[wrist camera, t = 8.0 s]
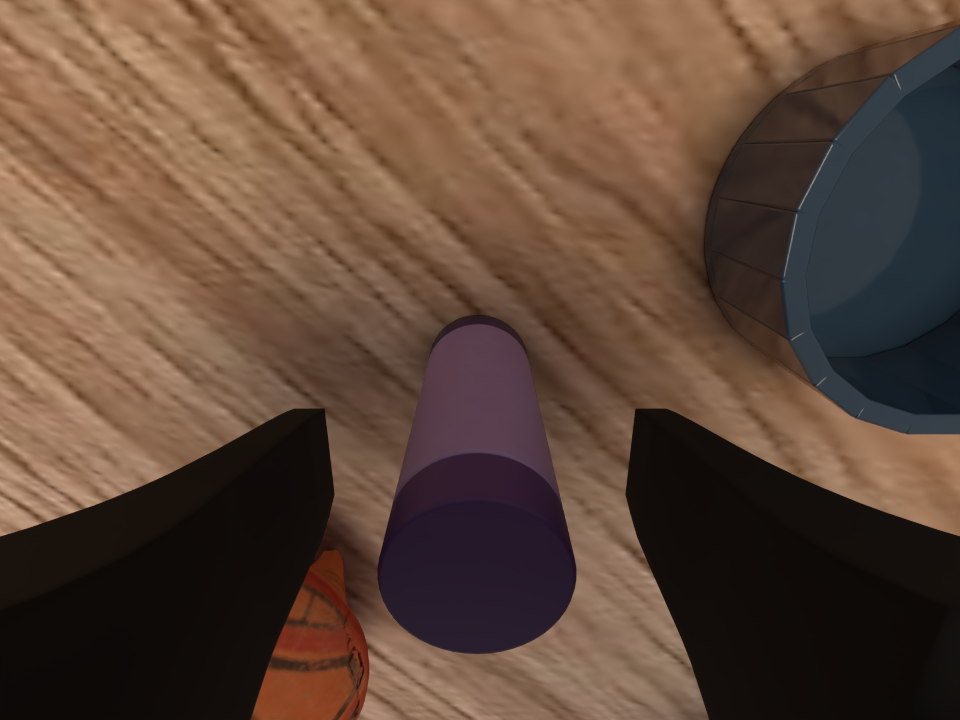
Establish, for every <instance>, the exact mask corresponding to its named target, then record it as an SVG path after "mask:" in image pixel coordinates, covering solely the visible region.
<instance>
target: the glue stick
mask: <svg viewBox="0 0 960 720" xmlns="http://www.w3.org/2000/svg"><path fill="white" fill-rule="evenodd" d="M378 584H379V589H380V592H381V595H382V598H383V601H384V603H385V605H386V607H387V609H388V611H389V612H390V613H391V615H392V616H393V618H394V619H395V620H396V621H397V622H398V623H399V624H400V625H401V626H402V627H403V628H404V629H405V630H407V631H408V632H409V633H410V634H412V635H413V636H415V637H417V638H418V639H420V640H422V641H424V642H426V643H428V644H430V645H432V646H435V647H438V648H441V649H444V650H449V651H453V652H459V653H467V654H487V653H495V652H502V651H506V650H510V649H513V648H516V647H519V646H522V645H524V644H526V643H528V642H530V641H533V640H534V639H536V638H538V637H539V636H541V635H542V634H544V633H545V632H546V631H548V630H549V629H550V628H551V627H552V626H553V625H554V624H555V623H556V622H557V621H558V620H559V619H560V618H561V616H562V615H563V613H564V612H565V611H566V609H567V607H568V605H569V603H570V601H571V598H572V595H573V592H574V589H575V584H576V564H575V558H574V554H573V549H572V545H571V541H570V537H569V532H568V528H567V524H566V519H565V515H564V511H563V507H562V502H561V498H560V494H559V490H558V485H557V481H556V477H555V472H554V468H553V464H552V460H551V455H550V451H549V447H548V442H547V438H546V434H545V430H544V425H543V421H542V417H541V413H540V408H539V404H538V400H537V395H536V391H535V387H534V383H533V378H532V374H531V370H530V365H529V361H528V357H527V353H526V349H525V346H524V344H523V342H522V339H521V338H520V336H519V335H518V334H517V333H516V331H515V330H514V329H513V328H511V327H510V326H509V325H508V324H506V323H504V322H503V321H501V320H498V319H496V318H493V317H488V316H480V315H477V316H468V317H464V318H461V319H458V320H456V321H454V322H452V323H451V324H449V325H448V326H447V327H445V328H444V329H443V330H442V331H441V332H440V333H439V335H438V336H437V338H436V339H435V341H434V343H433V345H432V349H431V352H430V356H429V360H428V364H427V368H426V372H425V376H424V380H423V384H422V388H421V392H420V396H419V400H418V404H417V408H416V412H415V416H414V420H413V424H412V428H411V432H410V436H409V440H408V445H407V449H406V453H405V457H404V461H403V465H402V469H401V473H400V477H399V481H398V485H397V489H396V493H395V497H394V501H393V505H392V510H391V513H390V517H389V521H388V525H387V529H386V533H385V537H384V541H383V545H382V549H381V553H380V557H379V563H378Z"/></svg>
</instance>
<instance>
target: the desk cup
mask: <svg viewBox="0 0 960 720" xmlns="http://www.w3.org/2000/svg"><path fill="white" fill-rule="evenodd" d="M705 260H706V267H707V273H708V278H709V282H710V285H711V288H712V291H713V294H714V297H715V299H716V301H717V303H718V305H719V307H720V309H721V311H722V313H723V315H724V316H725V317H726V319H727V320H728V321H729V323H730V324H731V325H732V327H733V328H734V329H735V330H736V331H737V332H738V333H739V334H740V335H741V336H742V337H743V338H744V339H745V340H746V341H748V342H749V343H750V344H752V345H753V346H755V347H756V348H757V349H758V350H760V351H761V352H762V353H764V354H765V355H766V356H767V357H769V358H770V359H771V360H772V361H774V362H775V363H777V364H778V365H779V366H781V367H782V368H784V369H785V370H787V371H788V372H789V373H791V374H792V375H794V376H795V377H796V378H798V379H799V380H801V381H802V382H803V383H805V384H806V385H808V386H809V387H811V388H812V389H813V390H815V391H816V392H818V393H819V394H820V395H822V396H823V397H825V398H826V399H827V400H829V401H830V402H832V403H833V404H835V405H836V406H837V407H839V408H840V409H842V410H843V411H844V412H846V413H847V414H849V415H850V416H852V417H854V418H856V419H859V420H862V421H865V422H868V423H872V424H875V425H878V426H881V427H884V428H887V429H890V430H894V431H897V432H900V433H906V434H960V20H956V21H952V22H949V23H945V24H942V25H938V26H934V27H931V28H927V29H924V30H920V31H916V32H913V33H909V34H906V35H902V36H899V37H895V38H892V39H889V40H886V41H883V42H880V43H877V44H874V45H871V46H868V47H864V48H861V49H858V50H855V51H852V52H850V53H847V54H844V55H841V56H839V57H837V58H835V59H833V60H831V61H829V62H827V63H825V64H823V65H821V66H819V67H817V68H815V69H813V70H812V71H810V72H809V73H807V74H806V75H804V76H803V77H801V78H800V79H798V80H797V81H795V82H794V83H793V84H791V85H790V86H789V87H788V88H787V89H785V90H784V91H783V92H782V93H781V94H779V95H778V96H777V97H776V98H775V99H774V100H773V101H772V102H771V103H770V104H769V105H768V106H767V107H766V108H765V109H764V110H763V111H762V112H761V113H760V114H759V115H758V116H757V117H756V118H755V120H754V121H753V122H752V124H751V125H750V126H749V127H748V129H747V130H746V131H745V133H744V134H743V135H742V136H741V138H740V140H739V141H738V143H737V145H736V146H735V148H734V149H733V151H732V153H731V154H730V156H729V157H728V160H727V162H726V164H725V166H724V168H723V170H722V172H721V174H720V176H719V179H718V181H717V184H716V187H715V190H714V193H713V196H712V199H711V203H710V208H709V212H708V217H707V222H706V233H705Z"/></svg>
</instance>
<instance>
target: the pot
mask: <svg viewBox="0 0 960 720" xmlns="http://www.w3.org/2000/svg"><path fill="white" fill-rule="evenodd" d="M368 679H369V658H368V648H367V643H366V639H365V636H364V633H363V630H362V628H361V626H360V624H359V622H358V620H357V619H356V617H355V615H354V614H353V612H352V611H351V609H350V608H349V606H348V605H347V600H346V593H345V584H344V572H343V561H342V557H341V554H340V552H339V551H337V550H333V551H329V550H328V551H327V550H326V551H323V553H322V555H321V557H320V558H319V559H318V560H317V561H316V562H315V563H314V564H313V565H311V566H310V568H309V571H308V573H307V575H306V577H305V580H304V582H303V584H302V586H301V589H300V591H299V593H298V595H297V598H296V600H295V602H294V605H293V607H292V609H291V611H290V614H289V616H288V618H287V620H286V623H285V625H284V627H283V629H282V632H281V634H280V636H279V639H278V641H277V644H276V646H275V649H274V651H273V654H272V657H271V659H270V662H269V665H268V668H267V671H266V674H265V677H264V680H263V683H262V686H261V689H260V692H259V695H258V698H257V702H256V705H255V708H254V711H253V714H252V717H251V720H357V718H358V716H359V714H360V712H361V710H362V707H363V704H364V701H365V697H366V691H367V685H368Z"/></svg>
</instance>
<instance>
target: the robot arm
mask: <svg viewBox="0 0 960 720" xmlns="http://www.w3.org/2000/svg"><path fill="white" fill-rule="evenodd" d="M334 495H335V494H334V486H333V477H332V468H331V460H330V451H329V443H328V434H327V426H326V417H325V409H292V410H290V411H287V412H285V413H283V414H281V415H279V416H277V417H275V418H273V419H271V420H269V421H267V422H266V423H264V424H262V425H260V426H258V427H257V428H255V429H253V430H251V431H249V432H248V433H246V434H244V435H242V436H240V437H239V438H237V439H235V440H233V441H231V442H230V443H228V444H226V445H224V446H222V447H221V448H219V449H217V450H215V451H213V452H211V453H209V454H207V455H205V456H203V457H201V458H199V459H197V460H195V461H193V462H191V463H189V464H188V465H186V466H184V467H182V468H180V469H178V470H176V471H174V472H172V473H170V474H168V475H166V476H163V477H161V478H159V479H157V480H155V481H152V482H150V483H148V484H146V485H144V486H141V487H139V488H136V489H134V490H132V491H129V492H127V493H124V494H122V495H119V496H117V497H115V498H112V499H110V500H107V501H105V502H102V503H99V504H97V505H94V506H91V507H88V508H85V509H82V510H80V511H77V512H74V513H71V514H68V515H65V516H62V517H59V518H56V519H53V520H51V521H48V522H45V523H42V524H39V525H36V526H33V527H30V528H27V529H24V530H21V531H17V532H14V533H11V534H7V535H4V536H0V720H251V717H252V714H253V711H254V708H255V705H256V702H257V698H258V695H259V692H260V689H261V686H262V683H263V680H264V677H265V674H266V671H267V668H268V665H269V662H270V659H271V657H272V654H273V651H274V649H275V646H276V644H277V641H278V639H279V636H280V634H281V632H282V629H283V627H284V625H285V623H286V620H287V618H288V616H289V614H290V611H291V609H292V607H293V605H294V602H295V600H296V598H297V595H298V593H299V591H300V589H301V586H302V584H303V582H304V580H305V577H306V575H307V573H308V571H309V568H310V566H311V564H312V561H313V559H314V557H315V554H316V552H317V550H318V547H319V545H320V543H321V540H322V538H323V535H324V531H325V528H326V524H327V521H328V518H329V514H330V510H331V506H332V502H333V499H334ZM625 495H626V498H627V502H628V506H629V510H630V514H631V517H632V521H633V524H634V528H635V531H636V535H637V538H638V540H639V543H640V545H641V547H642V550H643V552H644V554H645V557H646V559H647V561H648V564H649V566H650V568H651V571H652V573H653V575H654V577H655V580H656V582H657V584H658V586H659V589H660V591H661V593H662V595H663V598H664V600H665V602H666V604H667V607H668V609H669V611H670V614H671V616H672V618H673V620H674V623H675V625H676V627H677V629H678V632H679V634H680V636H681V639H682V641H683V644H684V646H685V649H686V651H687V654H688V656H689V659H690V662H691V664H692V667H693V671H694V674H695V677H696V680H697V683H698V686H699V689H700V692H701V695H702V698H703V701H704V705H705V708H706V711H707V714H708V717H709V720H960V536H957V535H953V534H950V533H947V532H943V531H940V530H937V529H934V528H931V527H928V526H925V525H922V524H919V523H916V522H913V521H910V520H907V519H904V518H901V517H898V516H895V515H892V514H889V513H886V512H883V511H880V510H877V509H875V508H872V507H869V506H866V505H864V504H861V503H859V502H856V501H854V500H851V499H849V498H846V497H844V496H841V495H839V494H836V493H834V492H832V491H829V490H827V489H824V488H822V487H819V486H817V485H815V484H813V483H810V482H808V481H806V480H804V479H801V478H799V477H797V476H795V475H793V474H791V473H789V472H787V471H785V470H783V469H781V468H779V467H777V466H775V465H772V464H770V463H768V462H766V461H764V460H763V459H761V458H759V457H757V456H755V455H753V454H751V453H749V452H747V451H745V450H744V449H742V448H740V447H738V446H736V445H734V444H733V443H731V442H729V441H727V440H725V439H723V438H722V437H720V436H718V435H716V434H715V433H713V432H711V431H709V430H707V429H706V428H704V427H702V426H700V425H698V424H697V423H695V422H693V421H691V420H689V419H687V418H685V417H684V416H682V415H680V414H678V413H675V412H673V411H671V410H668V409H635V417H634V426H633V434H632V443H631V452H630V460H629V469H628V477H627V486H626V494H625Z"/></svg>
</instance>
